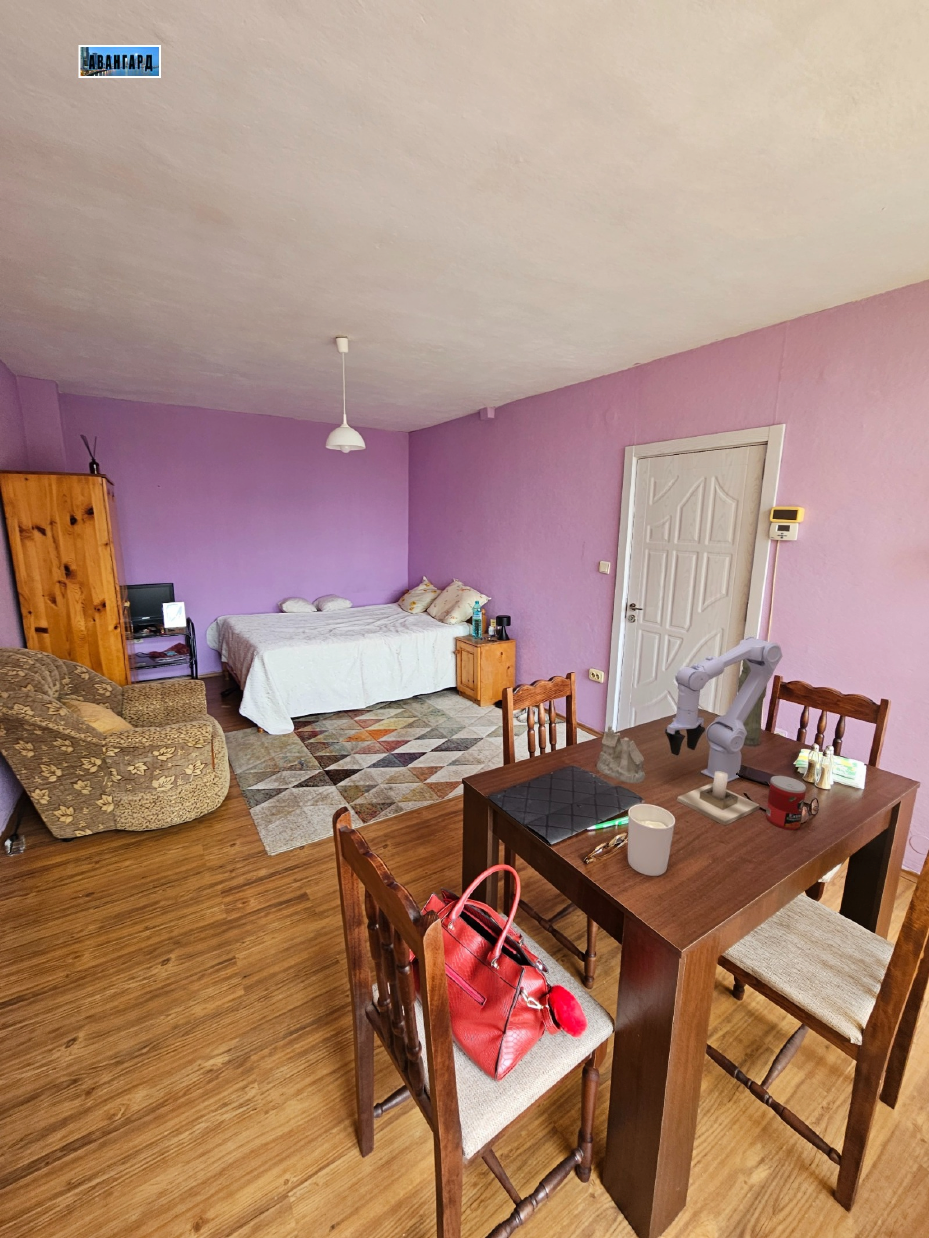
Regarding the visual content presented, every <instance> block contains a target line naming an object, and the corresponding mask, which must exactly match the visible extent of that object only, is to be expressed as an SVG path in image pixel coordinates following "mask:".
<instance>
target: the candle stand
mask: <svg viewBox="0 0 929 1238" xmlns="http://www.w3.org/2000/svg"><path fill="white" fill-rule="evenodd" d="M713 783H714V782H711V783H708V784H706V785H704V786H701V787H699V788H696V789H694V790H691V791H689V792H686V793H684V794H681V795H679V796H677V799H676V801H677V802H678V803H680V804H682V805H684V806H686V807H688V808H690V809H691V810H694V811H695V812H697V813H700V814H701V815H703V816H706V818H709V819H711V820H713V821H715V822H717V823H719V824H721V825H722V826H724V827H725V826H727V825H729V824H732V823H734V822H735V821H738V820H740V819H742V818H744V817H745V816H748V815H749V814H752V813H754V812H755V811H759V809H760V804H758V803H756V802H754V801H752V800H750V799H747V798H746V797H743V796H741V795H740V794H737V793H735V792H734V791H733V792H732V791H731V790H728V789H726V794H725V799H724V800H720V799H718V798H716V797H714V796H712V791H713Z"/></svg>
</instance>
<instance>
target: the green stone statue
mask: <svg viewBox="0 0 929 1238" xmlns="http://www.w3.org/2000/svg"><path fill="white" fill-rule="evenodd" d="M741 667H742V670H741V673H740V675H739V677H738V682H737V683H738V684H737V689H736V690H737V693H738V692H739V691H740V689H741V687H742V686H743V684H744V682H745V680H746V679H747V677H748V675H749V674H750V672H751V669H750V666H749V665H748V663H747V662H746V660H745V659H744V660H742V666H741ZM767 685H768V684H767ZM767 685H766V687H765V688H764V690H763V692H762V693H761V695H760V697H759V698H758V700H757V702H756V703H755V705H754V707H753V708H752V710H751V712H750V713H749V715H748V717H747V719H746V720H745V722H744V724H743V725H744V728H745V730H746V732H747V735H746V737H745V739H744V744H743V746H747V747H755V746H756V747H757V746H759V745H760V738H761V737H762V723H761V721H762V714H763V708H764V707H763V706H764V699H765V698H766V696H767V688H768V687H767ZM731 730H733V729H732V728H731Z"/></svg>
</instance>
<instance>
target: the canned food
mask: <svg viewBox="0 0 929 1238" xmlns="http://www.w3.org/2000/svg"><path fill="white" fill-rule="evenodd" d="M769 782H770V783H769V787H768V793H767V795H768V796H767V805H766V812H765V815H766V819H767V820H768V822H769V823H771V824H772V825H774V826H775V827H778V828H780V829H784V830H789V831H793V830H797V829H799V828H800V826H801V823H802V819H803V818H802V817H803V811H804V805H805V800H806V799H805V798H806V793H807V792H806V791H807V787H806V785H805V784H804V783H803V782H801V781H800V780H798V779H795V778H792V777H789V776H785V775H773V776H772V777H770V780H769Z"/></svg>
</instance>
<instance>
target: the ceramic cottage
mask: <svg viewBox="0 0 929 1238" xmlns="http://www.w3.org/2000/svg"><path fill="white" fill-rule="evenodd" d="M643 761H645V757H644V756H643V754H642V753H641V751H640V750H639V749H638V748H637V745H636V743H635V742H634V740H632V741H631V740H630V739H629V738H628V737H624V738H621V733H620V732H617V733H615V730H614V729H613V727H612V725H608V726H607V731H606V730H604V734H603V738H602V739H601V751H600V752H599V756H598V759H597V764H596V769H597V770H598V772H600V773H602V774H603V775H605V776H609V777H610V778H613V779H615V780H618V781H621V782H622V783H623V782H624V783H627V784H638V783H641V782H643V781H644V780H645V778H646V774H645V773H646V772H644V771H643V768H644V762H643Z"/></svg>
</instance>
